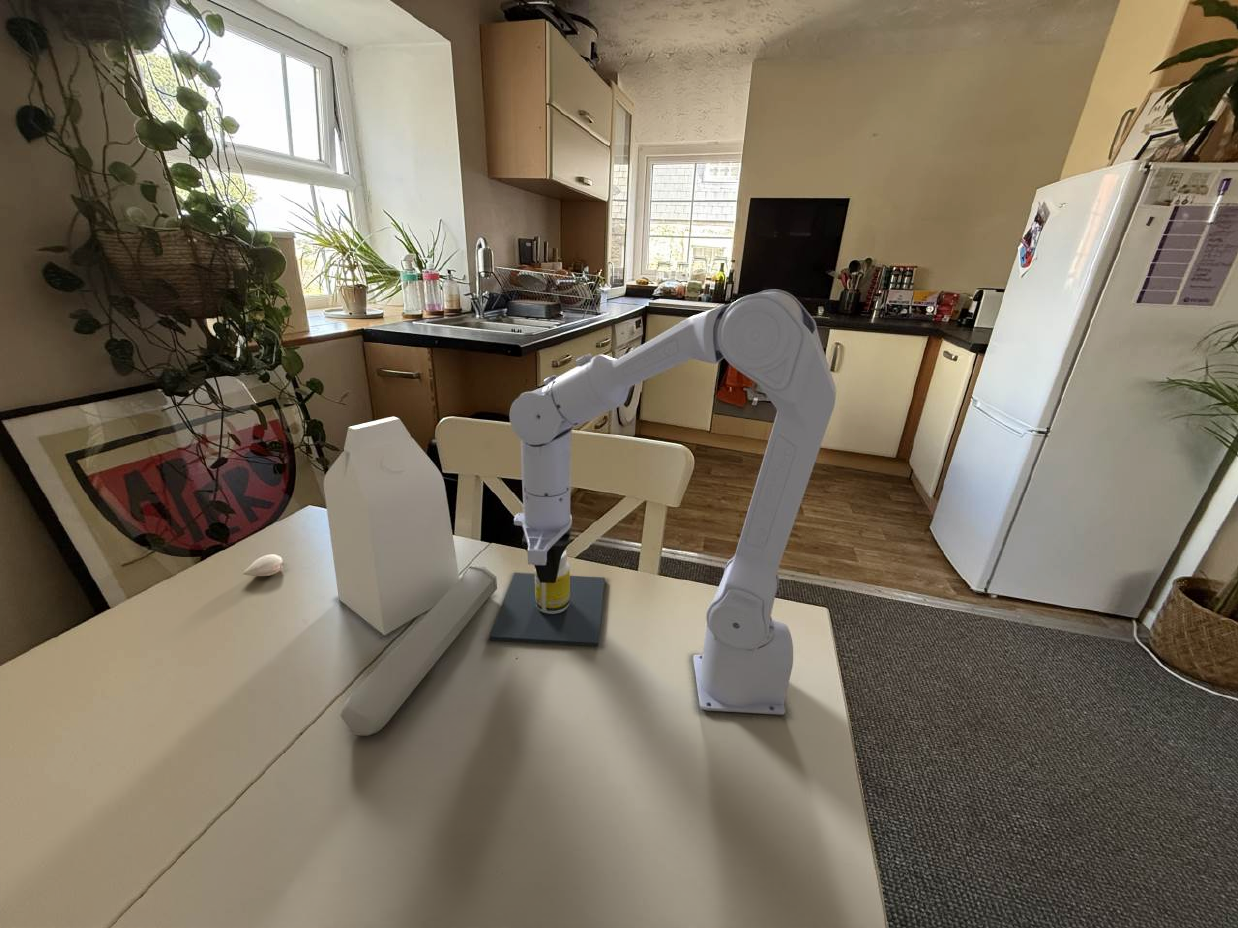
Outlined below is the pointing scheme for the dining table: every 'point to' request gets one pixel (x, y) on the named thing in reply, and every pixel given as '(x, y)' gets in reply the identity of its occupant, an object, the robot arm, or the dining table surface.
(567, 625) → the mat
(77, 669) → the dining table surface
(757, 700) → the robot arm
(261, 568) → the white garlic clove
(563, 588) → the supplement bottle
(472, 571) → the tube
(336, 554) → the milk
